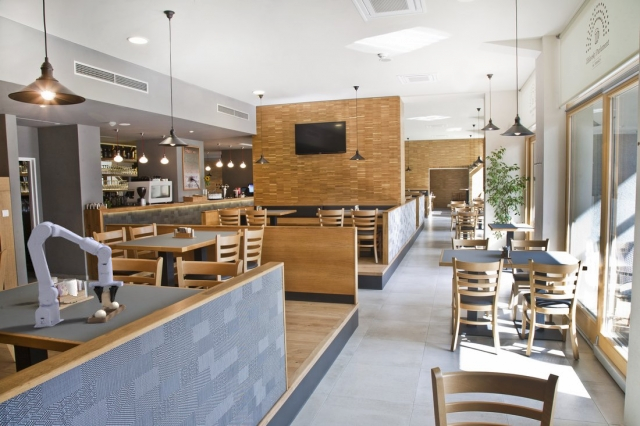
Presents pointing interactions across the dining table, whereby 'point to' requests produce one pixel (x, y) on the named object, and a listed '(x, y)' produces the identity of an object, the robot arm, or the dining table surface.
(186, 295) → the dining table surface
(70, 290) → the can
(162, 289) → the dining table surface
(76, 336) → the dining table surface
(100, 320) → the holder
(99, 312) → the egg left
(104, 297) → the beige jar
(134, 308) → the dining table surface
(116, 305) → the egg right
